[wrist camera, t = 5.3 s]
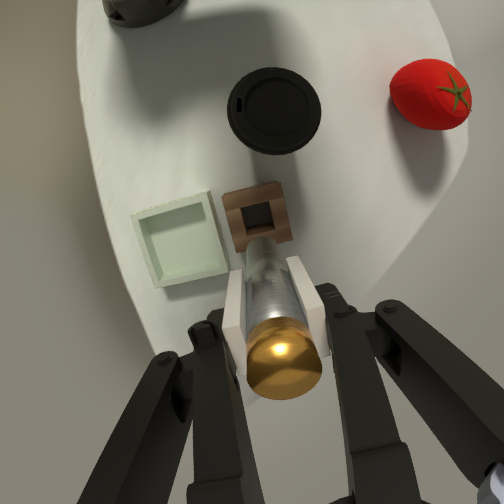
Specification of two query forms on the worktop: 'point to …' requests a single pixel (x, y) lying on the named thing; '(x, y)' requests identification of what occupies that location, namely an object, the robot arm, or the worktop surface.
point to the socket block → (274, 230)
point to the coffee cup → (274, 111)
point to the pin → (276, 327)
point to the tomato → (431, 94)
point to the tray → (181, 240)
